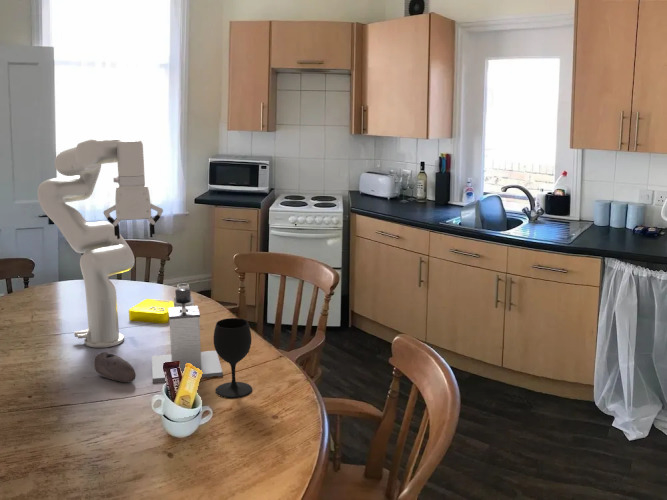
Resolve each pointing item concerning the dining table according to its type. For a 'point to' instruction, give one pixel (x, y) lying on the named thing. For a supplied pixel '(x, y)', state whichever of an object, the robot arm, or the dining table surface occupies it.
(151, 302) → the element tile
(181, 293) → the dark grey cylinder
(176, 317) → the grey block
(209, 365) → the grey board
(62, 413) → the dining table surface
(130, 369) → the perforated stone tool
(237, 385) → the wine glass
